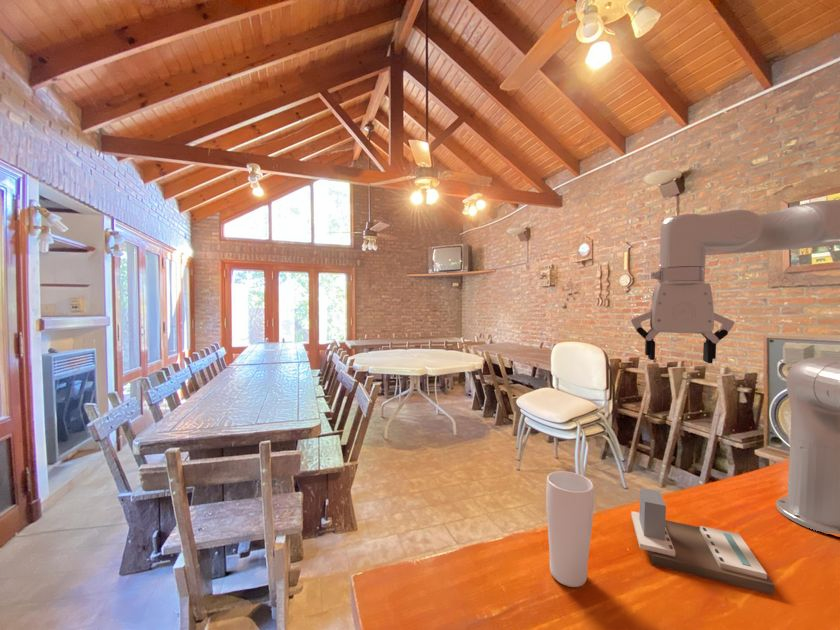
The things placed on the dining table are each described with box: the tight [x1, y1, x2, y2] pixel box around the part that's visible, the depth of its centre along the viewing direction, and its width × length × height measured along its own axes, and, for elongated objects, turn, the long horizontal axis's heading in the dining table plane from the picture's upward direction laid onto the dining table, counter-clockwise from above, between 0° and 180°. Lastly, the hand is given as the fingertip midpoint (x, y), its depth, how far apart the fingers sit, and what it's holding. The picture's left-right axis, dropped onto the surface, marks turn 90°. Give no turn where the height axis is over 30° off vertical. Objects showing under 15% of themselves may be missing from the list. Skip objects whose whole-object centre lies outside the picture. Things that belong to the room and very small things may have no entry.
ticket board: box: [647, 519, 776, 596], centre depth 60 cm, size 12×15×2 cm
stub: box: [630, 487, 675, 557], centre depth 63 cm, size 10×5×7 cm, turn 156°
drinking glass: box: [545, 470, 595, 588], centre depth 55 cm, size 7×7×15 cm
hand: (678, 360), depth 74 cm, fingers open, 9 cm apart
